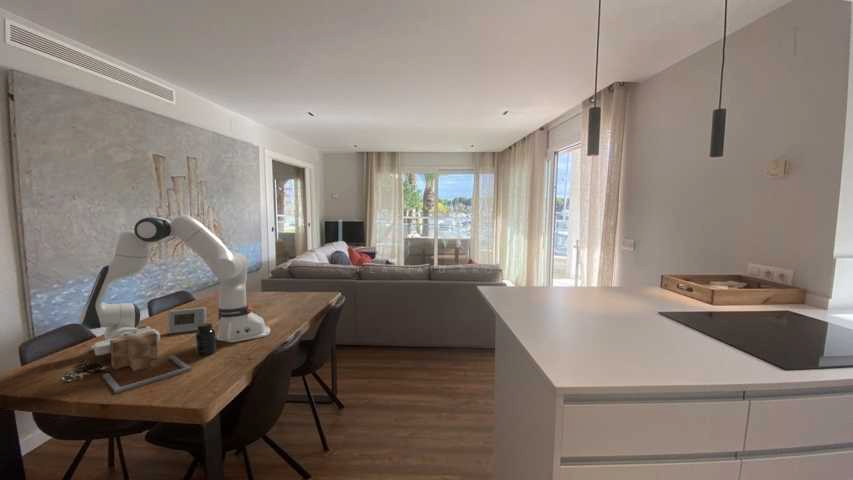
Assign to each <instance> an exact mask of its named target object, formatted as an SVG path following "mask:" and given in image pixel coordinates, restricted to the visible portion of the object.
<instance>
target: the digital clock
mask: <svg viewBox="0 0 853 480" xmlns="http://www.w3.org/2000/svg"><path fill="white" fill-rule="evenodd" d="M203 323H207V307H192V308H183V309H182V308H181V309H175V310H174V309H173V310H172V309H171V310H169V311H168V313H167V324H166V325H167V326H166V333H167V334H170V335H171V334H182V333H192V332H198V325H200V324H203Z"/></svg>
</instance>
